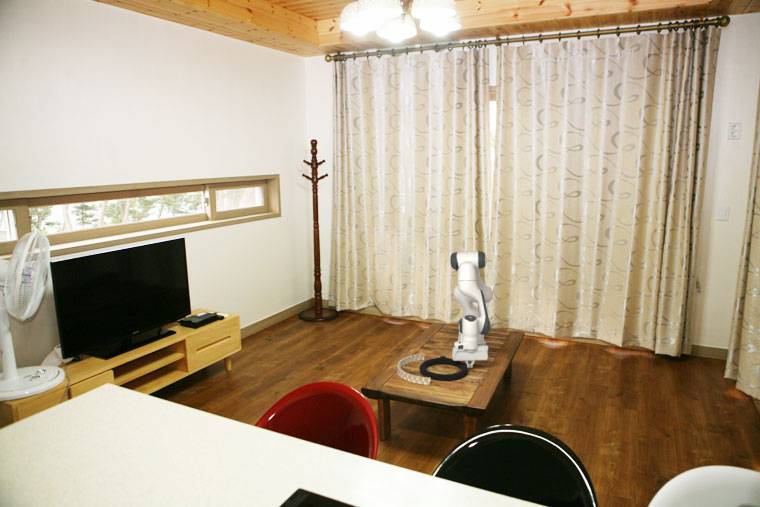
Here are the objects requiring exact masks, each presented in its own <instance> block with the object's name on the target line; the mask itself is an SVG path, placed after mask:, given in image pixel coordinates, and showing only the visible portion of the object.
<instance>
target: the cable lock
mask: <svg viewBox="0 0 760 507" xmlns="http://www.w3.org/2000/svg"><path fill="white" fill-rule="evenodd" d="M435 365H450V366H454V367H457V368H459V369H460V370H459V371H458V372H454V373H444V374H443V373H436V372H432V371H429V370H428V369H427V367H429V366H435ZM418 369H419V372H420V374H421V375H422V376H423V377H430V380H433V381H434V380H436V381H440V382H444V381H445V382H446V381H447V382H450V381H457V380H460V379H462V378H464V377H465V376H467V374H468V372H469V368H467V364H466V363H464V362H463V361H454V360H453V359H452V358H450V357H447V356H445V355H440V356H439V357H436V358H429V359H427V360H423V362H421V364H420V365H419V368H418Z"/></svg>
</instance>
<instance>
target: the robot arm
mask: <svg viewBox="0 0 760 507" xmlns="http://www.w3.org/2000/svg"><path fill="white" fill-rule="evenodd" d="M487 263H488V257H487V255H486V253H485V252H484V251H476V250H467V251H460V252H458V251H455V252H452V253H451V254H450V256H449V265H450V267H451V268H452V269H453V270H455V271H456V272H457V285H455V287H454V289H453V290H452V296H453V298H454V299H455V300H456V301H457V302H458V303H459V304H460V306H461V308H462V311H463V317H461V318H460V319H459V320H458V321H457V322H458V328H457V329H458V330H457V331H458V338H457V341H455V342H454V343H453V344H454V346H453V348H452V350H451V359H453V360H454V361H460V362H463V361H464V362H465V365H466V366H467V368H468V369H469V368H471V369H472V368H473V365H474V364H475V361H488V359H489V355H488V354H489V353H488V351H489V345H488V344H487V341H486V340H485V336H486V335H487V334H489V333H490V332H491V328H492V325H491V321H490V318H489V314H488V309H487V305H486V304H487V303H490V302H491V301H492V300H493V298H494V292H493V290H492V288H491V287H489V286H488V285H487V284H486V283H485V282H484V281H483V279H482V278H481V271H480V270H481V269H484V268H486V265H487ZM473 303H476V304H478V307H477V306H475V305H474V304H473ZM469 361H471V362H470V363H469Z"/></svg>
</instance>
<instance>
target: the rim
mask: <svg viewBox="0 0 760 507" xmlns="http://www.w3.org/2000/svg"><path fill="white" fill-rule="evenodd" d="M417 361H418V362H419V361H425V353H417V354H412V355H407V356H405V357H403V358H401V359H400V360H398V362H397V363H396V364H397V365H396V373H397V375H398V376H399V377H400V378H401V379H404V380H405V381H408V382H411V383H414V384H419V385H427V386H428V385H431V379H430V377H425V376H419V375H414V374H410V373H409V372H406V371H404V370H403V369H402V367H403V366H405V365H407V364H409V363H413V362H417Z"/></svg>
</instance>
